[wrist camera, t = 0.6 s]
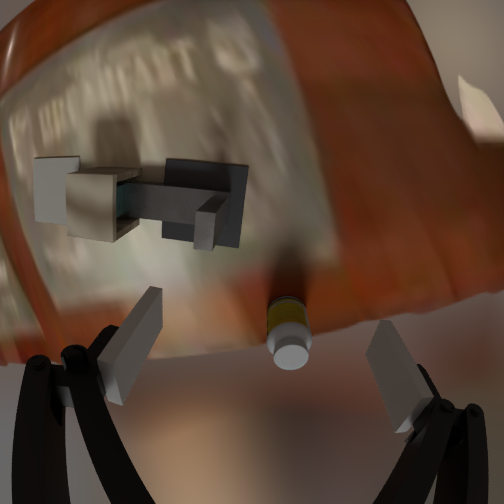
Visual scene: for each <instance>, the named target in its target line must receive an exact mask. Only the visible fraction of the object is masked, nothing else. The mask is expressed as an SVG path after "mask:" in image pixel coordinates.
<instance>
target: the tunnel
mask: <svg viewBox="0 0 504 504" xmlns="http://www.w3.org/2000/svg"><path fill="white" fill-rule="evenodd" d="M140 175H141V169H138V168H115V167H96V168H91V169H86V170H81V171H76V172H72V173H67V174H66V216H67V232H68V236H72V237H79V238H85V239H92V240H98V241H105V242H112V243H113V242H115V241H116V240H118V239H119V238H121V237H122V236H123V235H125V234H126V233H128V232H129V231H131V230H132V229H134V228H135V227H137V226H138V225H139V218H131V217H122V216H119V217H117V218H116V182H118V181H122V180H125V179H129V178H132V177H136V176H140Z"/></svg>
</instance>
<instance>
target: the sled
mask: <svg viewBox="0 0 504 504" xmlns="http://www.w3.org/2000/svg"><path fill="white" fill-rule="evenodd" d="M230 195H231V190H225V189H216V188H207V187H197V186H187V185H176V184H165V183H152V182H138V181H123V180H122V181H118V182H116V218H117V217H119V216H125V217H134V218H143V219H151V220H160V221H168V222H176V223H185V224H193V225H195V231H194V247H193V249H200V250H207V251H213V249H214V247H215V245H216V243H217V241H218V239H219V237H220V235H221V233H222V231H223V229H225V228H226V226H227V222H228V213H229V204H230Z"/></svg>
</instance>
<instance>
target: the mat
mask: <svg viewBox="0 0 504 504" xmlns="http://www.w3.org/2000/svg"><path fill="white" fill-rule="evenodd" d="M76 171H80V157H70V158H42V159H34V161H33V186H34V209H35V221H38V222H46V223H54V224H61V225H67V216H66V174H67V173H72V172H76Z"/></svg>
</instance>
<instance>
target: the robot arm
mask: <svg viewBox="0 0 504 504" xmlns="http://www.w3.org/2000/svg"><path fill="white" fill-rule="evenodd" d="M162 327H163V319H162V288H157V287H152V286H150V287H149V288H148V290H147V291H146V292H145V294H144V295H143V296H142V297H141V299H140V300H139V301H138V303H137V304H136V305H135V307H134V308H133V309H132V311H131V312H130V313H129V315H128V316H127V318H126V319H125V320H124V322H123V323H122V324H121V326H120V327H117V326H114V325H109V326H107V327H106V328H104V329H103V330H102V331H101V332H100V333H99V335H98V337H96V339H95V340H94V342H93V343H92V344H91V345H90V346H89V348H88V349H87V348H85V347H84V346H81V345H70V346H67V347H66V348H64V349H63V351H62V352H61V360H62V363H63V365H55V364H51V361H50V360H49V358H48V357H46V356H45V355H35V356H32V357H31V358H30V359H29V360H28V361H27V363H26V367H25V371H24V376H23V380H22V385H21V390H20V395H19V401H18V407H17V413H16V421H15V429H14V439H13V452H12V504H71V503H70V496H69V487H68V478H67V465H66V447H65V410H66V409H65V408H66V407H73V408H74V409H75V412H76V416H77V419H78V423H79V426H80V429H81V432H82V435H83V438H84V441H85V444H86V447H87V449H88V452H89V455H90V457H91V460H92V463H93V465H94V467H95V470H96V472H97V475H98V477H99V479H100V481H101V483H102V486H103V488H104V490H105V492H106V494H107V496H108V498H109V500H110V502H111V504H155V502H154V500H153V499H152V497H151V496H150V494H149V492H148V491H147V489H146V487H145V486H144V484H143V482H142V480H141V478H140V477H139V475H138V473H137V471H136V469H135V468H134V466H133V464H132V462H131V460H130V458H129V456H128V454H127V452H126V450H125V448H124V446H123V443H122V442H121V439H120V437H119V435H118V433H117V430H116V428H115V426H114V424H113V421H112V419H111V416H110V414H109V412H108V409H107V407H106V404H105V401H104V396H105V394H106V395H107V398H108V401H110V402H113V403H116V404H119V405H123V404H124V402H125V399H126V398H127V395H128V394H129V392H130V390H131V388H132V386H133V383H134V381H135V379H136V377H137V375H138V373H139V372H140V369H141V368H142V366H143V364H144V362H145V360H146V358H147V356H148V354H149V352H150V350H151V348H152V346H153V344H154V342H155V340H156V338H157V337H158V335H159V333H160V331H161V329H162ZM365 355H366V357H367V360H368V362H369V365H370V367H371V369H372V372H373V375H374V377H375V380H376V382H377V385H378V388H379V390H380V393H381V395H382V398H383V401H384V404H385V406H386V409H387V412H388V415H389V418H390V420H391V423H392V426H393V429H394V432H395V433H399V432H407V431H408V429H409V428H410V427H411V426H412V424H413V427H414V429H415V430H414V431H413V432H412V433H411V434H410V435H409V437H408V438H407V439H406V440H405V442H407V441H408V442H407V444H406V446H405V448H404V450H403V452H402V454H401V456H400V458H399V460H398V462H397V464H396V466H395V468H394V469H393V471H392V473H391V474H390V476H389V478H388V480H387V481H386V483H385V485H384V486H383V488H382V490H381V492H380V493H379V495H378V496H377V498H376V499H375V501H374V502H373V504H424V503H425V501H426V499H427V496H428V494H429V492H430V489H431V487H432V485H433V482H434V480H435V477H436V475H437V482H436V489H435V495H434V501H433V504H488V450H487V438H486V427H485V420H484V413H483V410H482V409H481V407H479V406H478V405H476V404H472V403H471V404H468V406H467V407H466V408H465V409H464V410H463V409H456V408H455V407H454V405H453V404H452V403H451V402H450V401H449V400H446V399H442V398H441V397H440V395H439V393H438V391H437V389H436V387H435V386H434V384H433V382H432V380H431V378H430V377H429V375H428V373H427V372H426V370H425V369H424V368H423V367H422V366H421V365H420V364H416V363H415V361H414V359H413V358H412V356H411V354H410V352H409V351H408V349H407V347H406V346H405V344H404V342H403V341H402V339H401V337H400V335H399V334H398V332H397V331H396V329H395V327H394V326H393V324H392V322H391V321H388V320H380V322H379V325H378V327H377V329H376V331H375V334H374V336H373V338H372V341H371V343H370V345H369V348H368V350H367V352H366V354H365ZM437 472H438V473H437Z"/></svg>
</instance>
